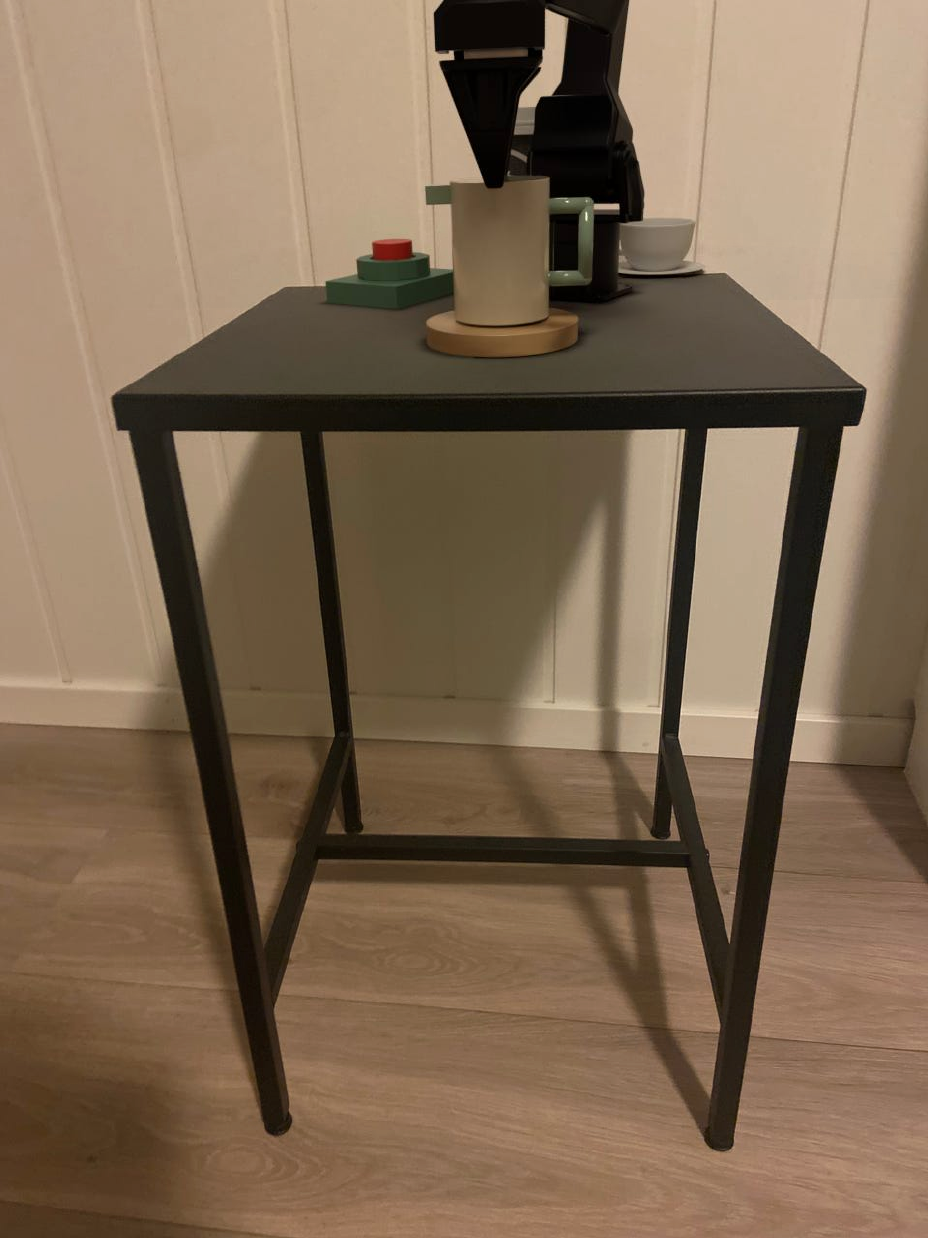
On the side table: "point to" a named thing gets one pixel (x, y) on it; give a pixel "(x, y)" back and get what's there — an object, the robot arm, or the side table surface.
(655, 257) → the teacup
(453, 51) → the robot arm
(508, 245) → the jug
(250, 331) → the side table surface
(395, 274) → the button box
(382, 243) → the button
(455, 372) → the side table surface
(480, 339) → the disc
